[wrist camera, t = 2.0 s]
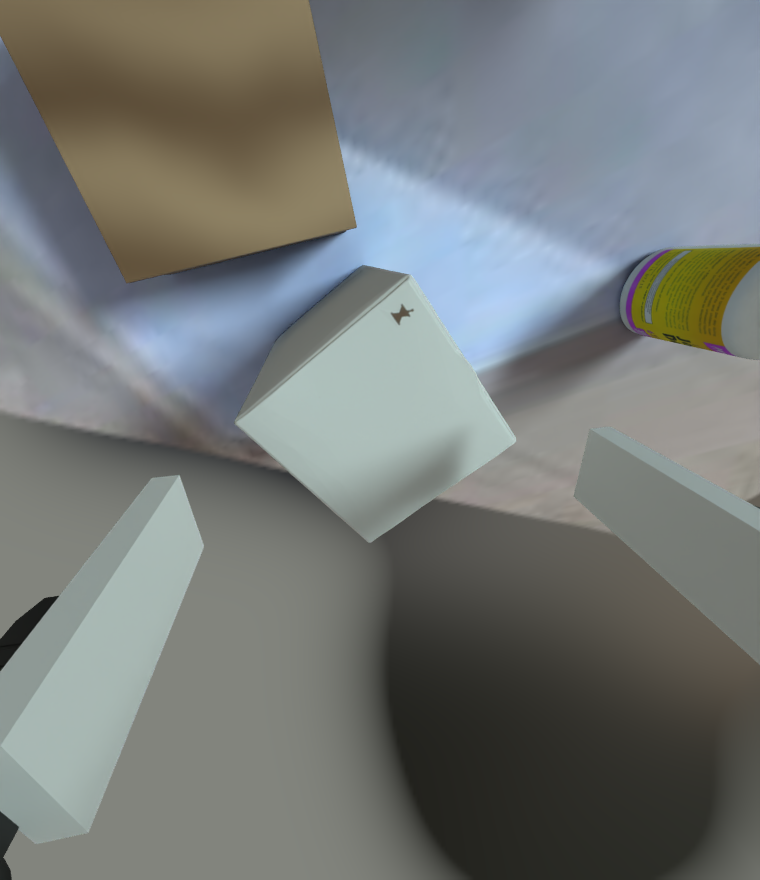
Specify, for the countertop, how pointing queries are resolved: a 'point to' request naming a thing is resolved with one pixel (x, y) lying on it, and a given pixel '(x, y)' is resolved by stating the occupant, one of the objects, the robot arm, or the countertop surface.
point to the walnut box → (186, 123)
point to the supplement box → (373, 403)
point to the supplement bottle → (698, 298)
